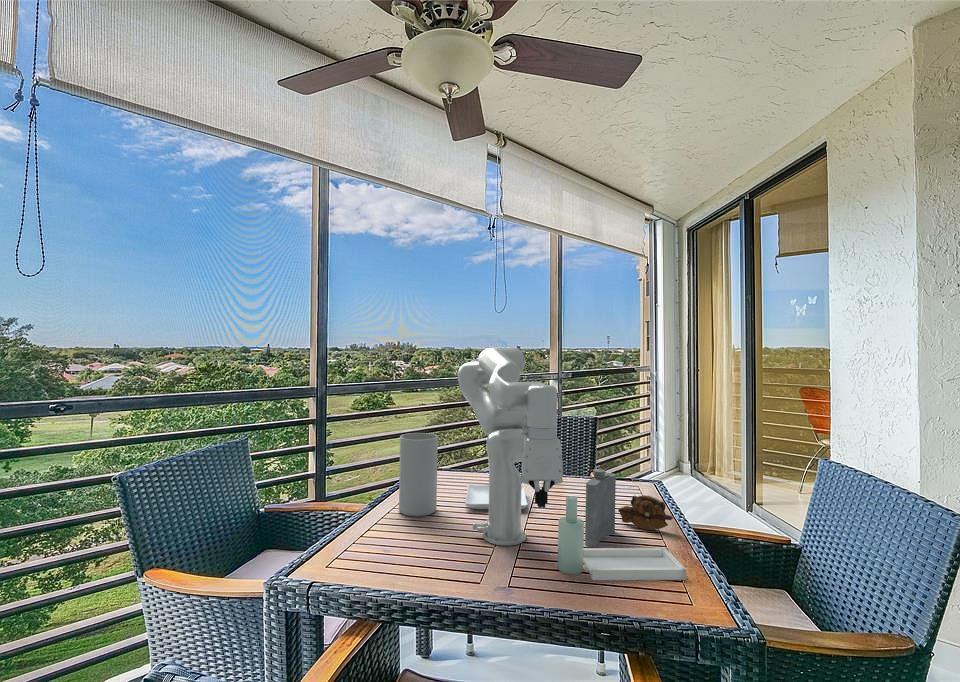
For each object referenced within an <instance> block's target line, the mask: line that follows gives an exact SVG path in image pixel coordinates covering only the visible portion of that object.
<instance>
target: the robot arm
mask: <svg viewBox="0 0 960 682" xmlns="http://www.w3.org/2000/svg"><path fill="white" fill-rule="evenodd" d="M525 367H526V358H525V355H524V353H523V352H522V351H521V350H520V349H519V348H517V347H498V346H497V347H493V346H492V347H488V348H486V349H484V350H482V351H481V352H480V354H479V355H478V360H475V361H474V360H473V361H469V362H465V363H463V364H462V365H461V366H460V367H459V369H458V370H457V371H458V372H457V381H458V386H459V390H460V392H461V394H462V396H463V397H464V399H465V400H466V402H467V403H468V405H470V407H471V408H472V410H473V412H474V414H475V416H476V419H477V421H478V423H479V425H480V427H481V429H482V431H483V432H484V433H485V435H487V439H486V442H485V443H486V444H485V445H486V453H487V459H488V460H487V461H488V471H489V472H488V479H489V480H488V485H489V510H488V518H486V521H483V522H472V530H476V532H477V533H481V532H482V538H483V540H485V541H486V542H487V543H488V544H489V543H490V544H491V545H497V546H515V545H519V544H522V543H524V542H525V541H526V539H527V533H526V532H525V531H524V530H522V523H521V521H522V509H521V487H523V486H522V484H525V485H529V486H530V487H531V488H532V489H533V490H534V503H535V504H536V505H537V507H538V508H539V509H541V508H543V509H545V508H546V504H548V497H549V495H548V493H549V491H550V489H552V488H553V487H554V485H558V484H562V483H563V482H564V480H563V475H564V465H563V452H562V451H563V450H562V449H563V448H562V444H561V440H560V439H559V438H558V436H557V435H558V390H557V388H556V386H554V385H551V384H545V383H544V382H541V381H519V380H520V378H521V373H523V371H524V370H525ZM486 387H488V389H487V388H486ZM518 462H521V464H520V471H519V469H517V467H516V465H515V463H518ZM520 472H521V473H520ZM541 481H542V482H543V483H542V486H541V487H540V482H541Z"/></svg>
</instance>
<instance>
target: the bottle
mask: <svg viewBox="0 0 960 682" xmlns="http://www.w3.org/2000/svg"><path fill="white" fill-rule="evenodd" d="M557 525H558V531H557V533H558V534H557V535H558V536H557V542H558V543H557V569H558V571H560V572H561V573H563V574H567V575H579V574H582V573H583V571H584V563H583V555H584V548H585V547H584V546H585V520H582V519H580V518H578V497H576V496H573V495H572V496H571V495H569V496H566V497H565V516H564V517H561V518H559V519H558V524H557Z"/></svg>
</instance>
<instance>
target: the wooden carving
mask: <svg viewBox="0 0 960 682" xmlns="http://www.w3.org/2000/svg"><path fill="white" fill-rule="evenodd" d="M630 504H631V506H630V505H629V506H628V505H625V506H622V507H620V508H618V513H619V514H620V516H621V521H622V522H623V523H624V524H625V523H627V524H629V523H631V524H633V525H634V526H635V527H637V528H640V529H642V530H649V531H655V530H661V529H663V528H665V527H668V526H669V524H668V523H667V521H672V520H673V519H675V517H674V516H673V515H668V514H666V513H665V510H666V503H665V501H663V500H659V499H658V498H656V497H654V496H651V495H639V496H637V495H633V496H632V498H631V500H630ZM666 520H667V521H666Z"/></svg>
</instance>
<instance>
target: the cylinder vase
mask: <svg viewBox="0 0 960 682" xmlns="http://www.w3.org/2000/svg"><path fill="white" fill-rule="evenodd" d="M438 437H439V436H438V435H437V434H434V433H427V432H413V433H412V432H411V433H405V434H401V435H400V436H399V474H398V475H399V476H398V477H399V485H398V488H399V489H398V491H399V492H398V511H399V513H400V514H402V515H404V516H409V517H415V518H417V517H425V516H430V515H432V514H434V513H435V512H436V511H437V507H438V506H437V505H438V503H437V499H438V498H437V497H438V496H437V495H438V447H439V443H438V441H439V439H438Z"/></svg>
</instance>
